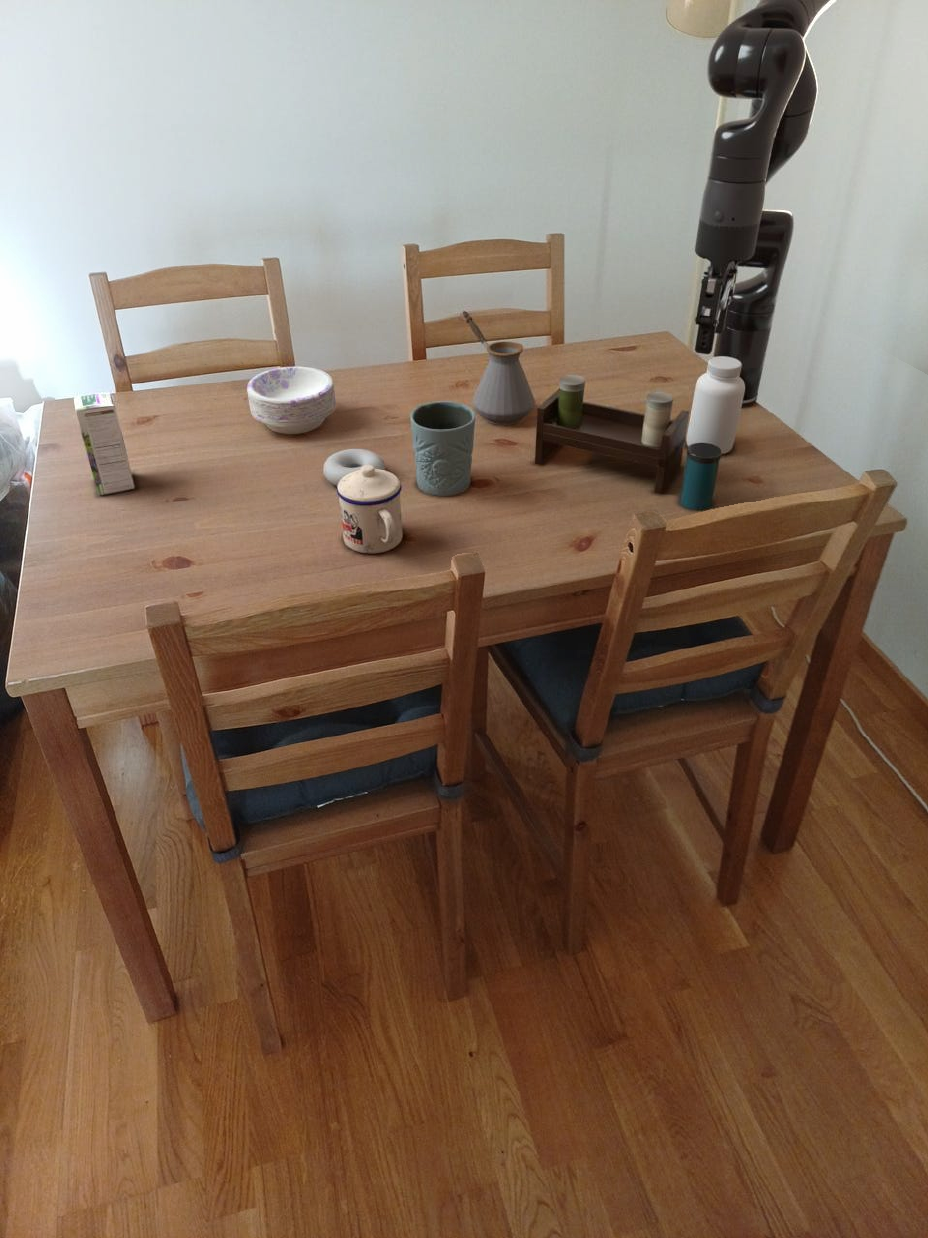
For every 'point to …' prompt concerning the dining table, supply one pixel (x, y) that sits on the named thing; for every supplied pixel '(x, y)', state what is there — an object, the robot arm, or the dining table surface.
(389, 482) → the teacup with lid
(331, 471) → the donut
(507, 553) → the dining table surface
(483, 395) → the coffee pot
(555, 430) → the spice rack
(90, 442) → the syrup box
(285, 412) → the paper bowls
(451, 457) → the teal embossed cup
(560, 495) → the dining table surface
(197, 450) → the dining table surface
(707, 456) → the spice jar
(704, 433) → the pill bottle
